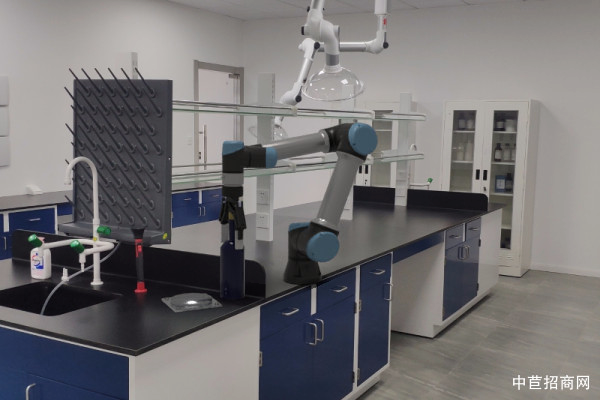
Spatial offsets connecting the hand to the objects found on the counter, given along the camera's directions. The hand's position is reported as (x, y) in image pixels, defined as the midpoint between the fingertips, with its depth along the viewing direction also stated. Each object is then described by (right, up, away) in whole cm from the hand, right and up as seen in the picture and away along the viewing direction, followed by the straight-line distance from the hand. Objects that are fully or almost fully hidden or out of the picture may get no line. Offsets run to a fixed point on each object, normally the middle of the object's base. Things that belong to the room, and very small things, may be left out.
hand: (231, 245), depth 220 cm
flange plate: (-13, -19, -8) cm, 24 cm away
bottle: (0, -18, +2) cm, 18 cm away
